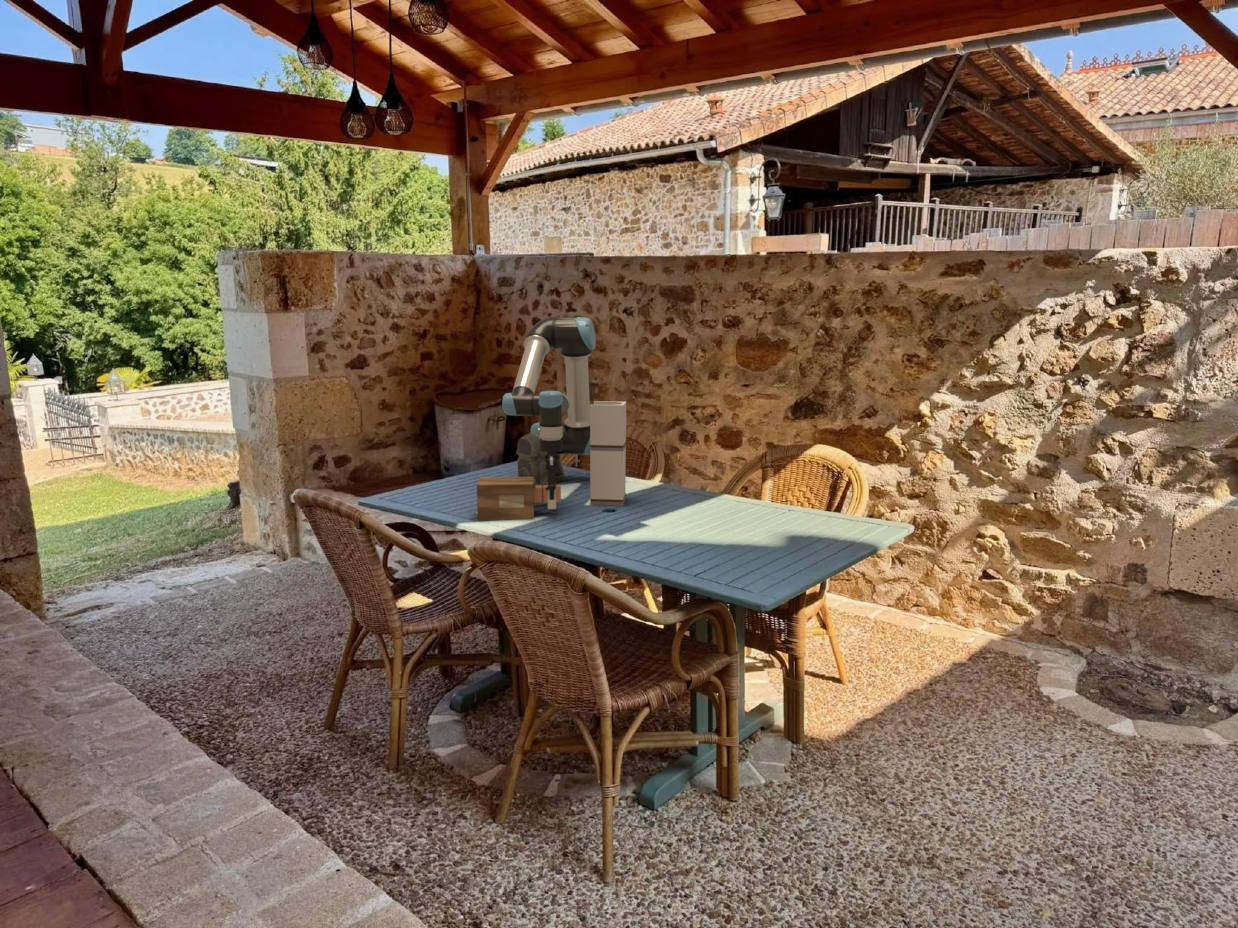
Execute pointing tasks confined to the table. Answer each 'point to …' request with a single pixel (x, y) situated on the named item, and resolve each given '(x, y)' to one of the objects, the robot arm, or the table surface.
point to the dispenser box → (505, 498)
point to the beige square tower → (607, 453)
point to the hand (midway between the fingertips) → (551, 504)
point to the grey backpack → (532, 460)
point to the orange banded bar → (545, 493)
